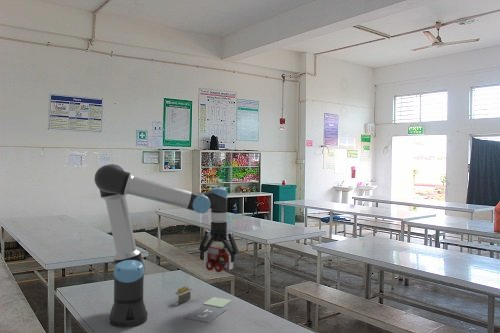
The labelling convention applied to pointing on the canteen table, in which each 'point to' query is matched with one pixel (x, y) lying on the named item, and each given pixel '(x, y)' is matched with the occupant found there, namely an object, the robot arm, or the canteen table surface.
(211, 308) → the tile
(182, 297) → the platform
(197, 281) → the canteen table surface
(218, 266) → the toy fire truck
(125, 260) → the robot arm
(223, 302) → the pad
